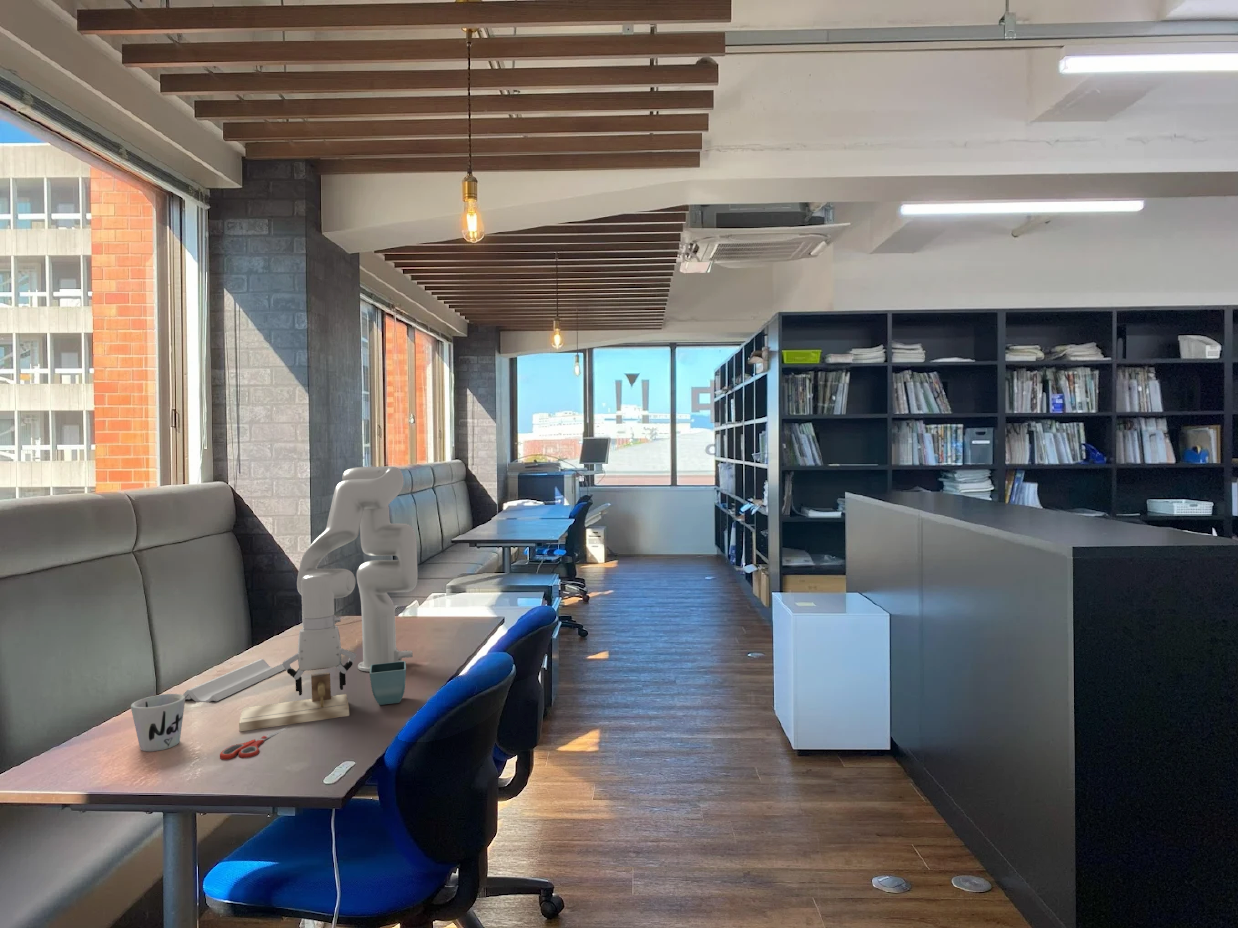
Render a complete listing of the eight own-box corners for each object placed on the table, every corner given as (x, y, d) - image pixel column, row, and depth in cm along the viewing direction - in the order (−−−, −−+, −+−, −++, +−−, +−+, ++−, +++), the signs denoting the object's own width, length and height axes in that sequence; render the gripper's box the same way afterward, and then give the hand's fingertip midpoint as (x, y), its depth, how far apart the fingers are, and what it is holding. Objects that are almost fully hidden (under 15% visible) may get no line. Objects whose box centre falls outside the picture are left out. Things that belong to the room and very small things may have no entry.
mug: (148, 757, 168) (146, 710, 168) (112, 745, 176) (110, 700, 176) (196, 741, 177) (195, 696, 177) (160, 731, 185) (158, 688, 185)
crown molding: (217, 704, 206) (216, 690, 206) (175, 703, 208) (175, 690, 208) (287, 670, 237) (286, 658, 237) (250, 670, 239) (250, 658, 239)
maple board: (346, 701, 203) (346, 693, 203) (349, 715, 191) (348, 707, 191) (242, 715, 194) (242, 707, 194) (239, 731, 183) (238, 722, 183)
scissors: (294, 726, 186) (294, 720, 186) (251, 761, 165) (251, 754, 165) (262, 727, 186) (262, 720, 186) (215, 762, 165) (214, 755, 165)
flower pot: (370, 709, 196) (369, 672, 196) (371, 698, 205) (370, 664, 205) (407, 704, 199) (406, 669, 198) (407, 694, 207) (405, 660, 207)
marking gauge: (330, 700, 203) (329, 670, 203) (332, 714, 191) (331, 683, 191) (312, 702, 201) (311, 673, 201) (312, 717, 189) (311, 686, 189)
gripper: (354, 616, 206) (356, 682, 206) (281, 624, 199) (284, 691, 199) (355, 622, 199) (358, 690, 199) (280, 629, 192) (283, 700, 192)
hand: (321, 690), depth 199 cm, fingers open, 9 cm apart
